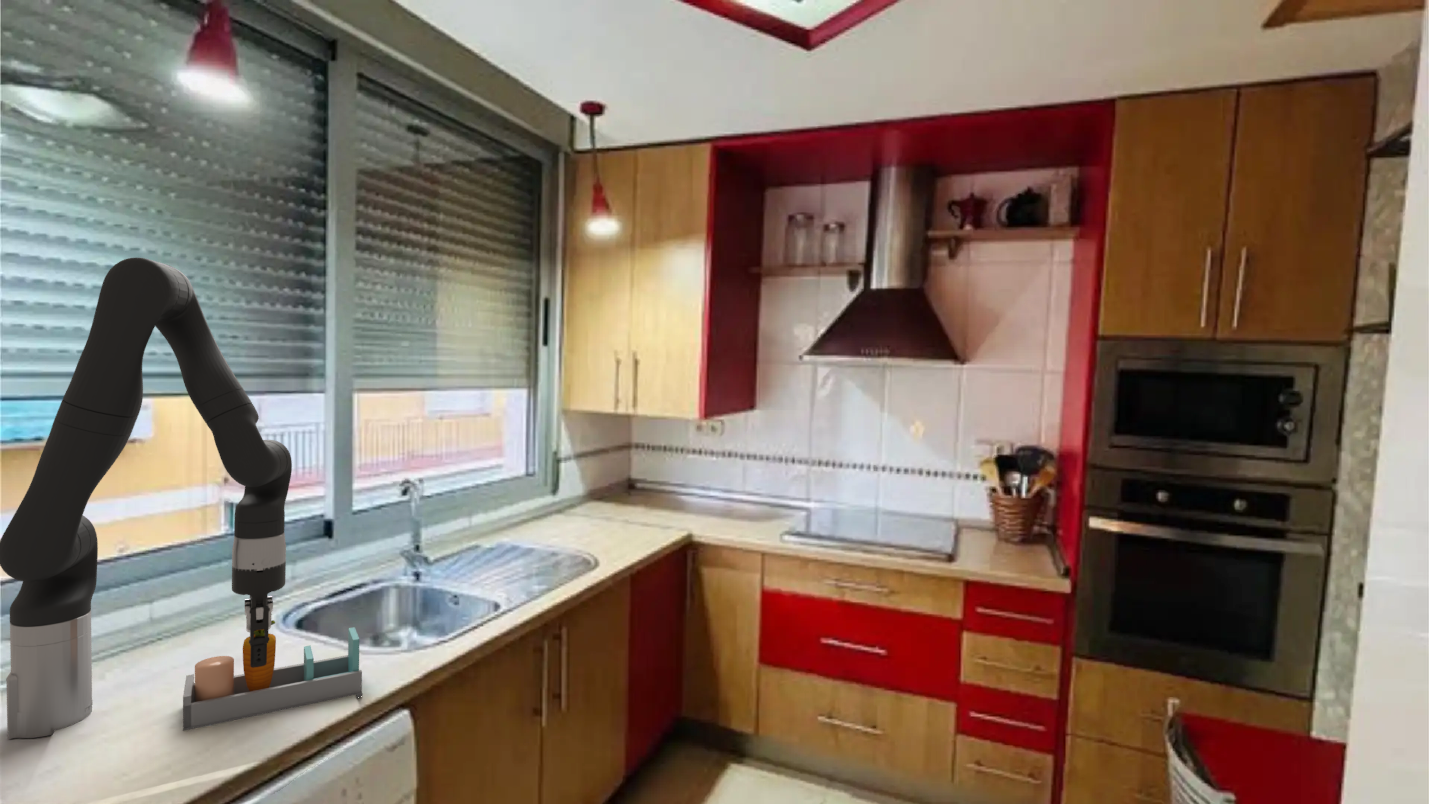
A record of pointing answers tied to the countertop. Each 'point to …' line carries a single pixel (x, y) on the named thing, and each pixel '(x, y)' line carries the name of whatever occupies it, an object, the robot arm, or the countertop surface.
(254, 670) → the carrot
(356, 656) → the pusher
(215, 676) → the pink cylinder
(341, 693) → the tray
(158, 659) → the countertop surface
